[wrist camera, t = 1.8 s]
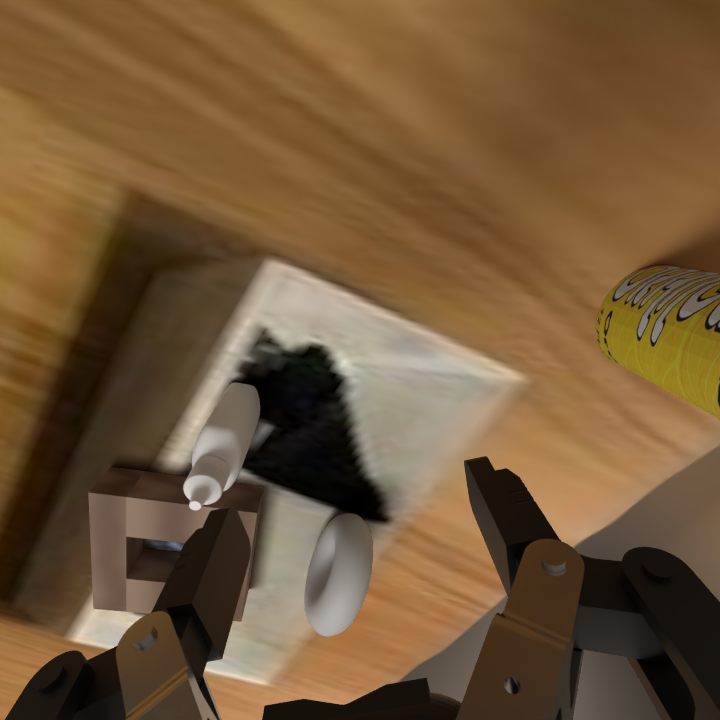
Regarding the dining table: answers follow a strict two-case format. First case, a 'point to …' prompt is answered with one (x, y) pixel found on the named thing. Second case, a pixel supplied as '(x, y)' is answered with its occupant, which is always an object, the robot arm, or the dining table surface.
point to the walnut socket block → (151, 534)
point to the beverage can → (667, 331)
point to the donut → (339, 574)
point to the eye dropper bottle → (222, 445)
